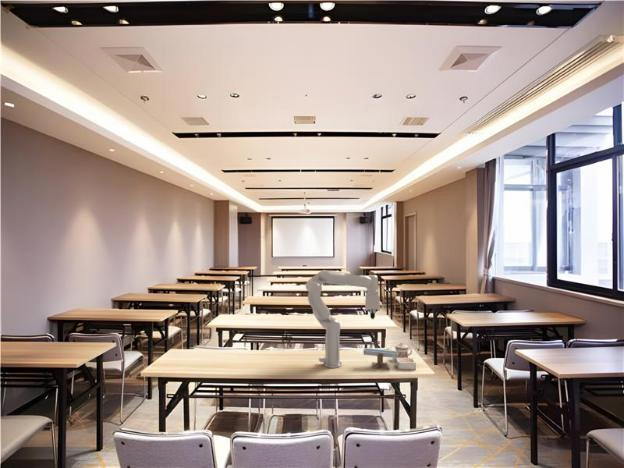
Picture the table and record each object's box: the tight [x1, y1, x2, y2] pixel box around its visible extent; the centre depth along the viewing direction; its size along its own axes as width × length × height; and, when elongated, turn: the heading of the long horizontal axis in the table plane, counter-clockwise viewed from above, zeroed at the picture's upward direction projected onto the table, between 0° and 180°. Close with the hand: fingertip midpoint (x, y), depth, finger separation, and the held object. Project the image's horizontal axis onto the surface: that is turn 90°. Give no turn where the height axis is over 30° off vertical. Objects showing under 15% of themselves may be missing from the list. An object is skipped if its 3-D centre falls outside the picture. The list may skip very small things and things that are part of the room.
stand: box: [371, 354, 390, 370], centre depth 244 cm, size 10×11×10 cm
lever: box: [362, 347, 397, 359], centre depth 247 cm, size 22×13×3 cm, turn 84°
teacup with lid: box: [394, 341, 413, 358], centre depth 258 cm, size 12×9×12 cm
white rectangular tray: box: [395, 357, 417, 371], centre depth 242 cm, size 11×9×4 cm
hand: (372, 318), depth 256 cm, fingers closed
